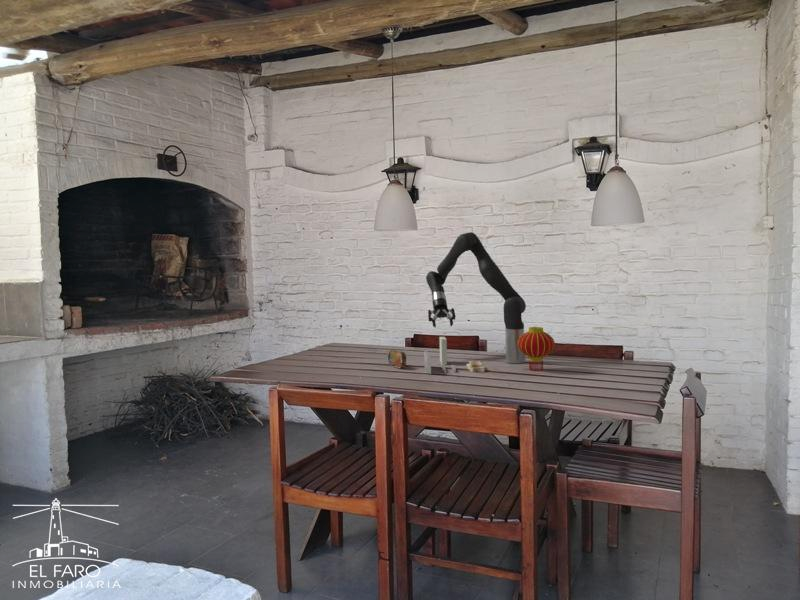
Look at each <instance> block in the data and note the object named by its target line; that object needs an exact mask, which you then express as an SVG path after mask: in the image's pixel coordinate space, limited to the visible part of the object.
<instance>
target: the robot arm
mask: <svg viewBox="0 0 800 600" xmlns="http://www.w3.org/2000/svg"><path fill="white" fill-rule="evenodd" d="M468 251H471V253H472V254H473V255H474V256H475V258H476V260H477V263H478V264H477V265H478V271H479V274H480V275H481V277H483V279H484V280H485V282H486V283H487V284H488V285H489V286H490V287H491V288H492V289H493V290H494V291H496V292H497V293H498V294H499V295H500V296H501V297H502V298H503V300H504V304H503V322H504V326H505V363H508V364H523V363H526V355H524V354H523V353H522V352H521V351H520V350H519V348H518V345H517V342H518V339H519V338H520V336H521V335H523V334H524V333H525V323H524V322H523V320H522V314H523V313H525V311H526V309H527V305H526V301H525V300H524V299H523V297H522V296H521V295H520V294H519V293H518V292H517V291H516V289H514V287H513V286H512V285H511V283H510V282H509V281H508V279H507V277H506V276H505V274H504V273H503V272H502V270H501V269H500V267H499V266H498V264H496V262H495V261H494V259H493V258H492V257H491V255H490V254H489V253H488V252H487V250H486V248H485V247H484V245H483V243H482V241H481V240H480V238H479V237H478V236H477V234H476V233H475V232H470V231H469V232H465V233H462V234H461V233H460V235H458V236H457V237H456V239H455V241H454V243H453V245H452V247H451V248H450V249H449V252H448V253H447V254H446V256H444V257H445V258H444V259H442V261H441V262H440V263H439V264H438V266H437V268H436V271H431V270H430V271H428V273H427V274H426V279H425V281H426V284H427V285H428V288H429V290H430V291H431V299H432V300H431V302H432V308H433V310H430V309H428V311H427V314H428V315H427V318H428V322H431V323H432V327H433V328H436V327H437V323H436V320H437V319H441V318H442V319H443V318H446V320H447V319H448V321H449V325H450V326H449V327H452V326H453V325H454V320H456V313H455V308H453V307H451V309H449V308H448V304H447V297H446V294H445V293H446V292H445V288H444V284H445V282H446V280H447V278H448V276H449V274H450V273H451V271H452V270H453V269H454V267H455V266H456V265H457V261H458V259H459V257H460V256H461V255H462V254H463V253H465V252H468ZM432 315H433V317H432Z"/></svg>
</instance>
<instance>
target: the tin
mask: <svg viewBox="0 0 800 600" xmlns="http://www.w3.org/2000/svg"><path fill="white" fill-rule="evenodd" d="M387 357H388V363H389V366H390V365H394V366H397V367H400V368H399V369H404V368H406V365H407V355H406V353H405V352H404V351H401V350H397V349H390V350H389V353H388V356H387Z"/></svg>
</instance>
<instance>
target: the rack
mask: <svg viewBox="0 0 800 600" xmlns="http://www.w3.org/2000/svg"><path fill="white" fill-rule="evenodd" d="M423 352H424V353H423V354H424V360H423V361H424V362H423V363H424V370H425V369H426V370H425V371H427V372H426V374H427V373H428V374H427V375H432V358H431V355H430V353H429V351H426V350H425V351H423ZM440 366H441V367H440V368H442V369H441V370H442V372H443V371H444V372H446V373H447V368H446V367H445V365H442V364H441V365H440ZM451 368H452V369H451ZM450 369H451V370H452V372H453V371H454V372H453V373H457V368H456V367H455V366H454V364H450ZM444 372H443V373H444Z"/></svg>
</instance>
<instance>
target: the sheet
mask: <svg viewBox="0 0 800 600" xmlns="http://www.w3.org/2000/svg"><path fill="white" fill-rule="evenodd" d="M447 340H448V339H447V338H446V337H445V336H439V363H440V362H441V363H440V364H441V365H442V364H447V365H448V355H447V347H448V346H447V345H448V344H447Z"/></svg>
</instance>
